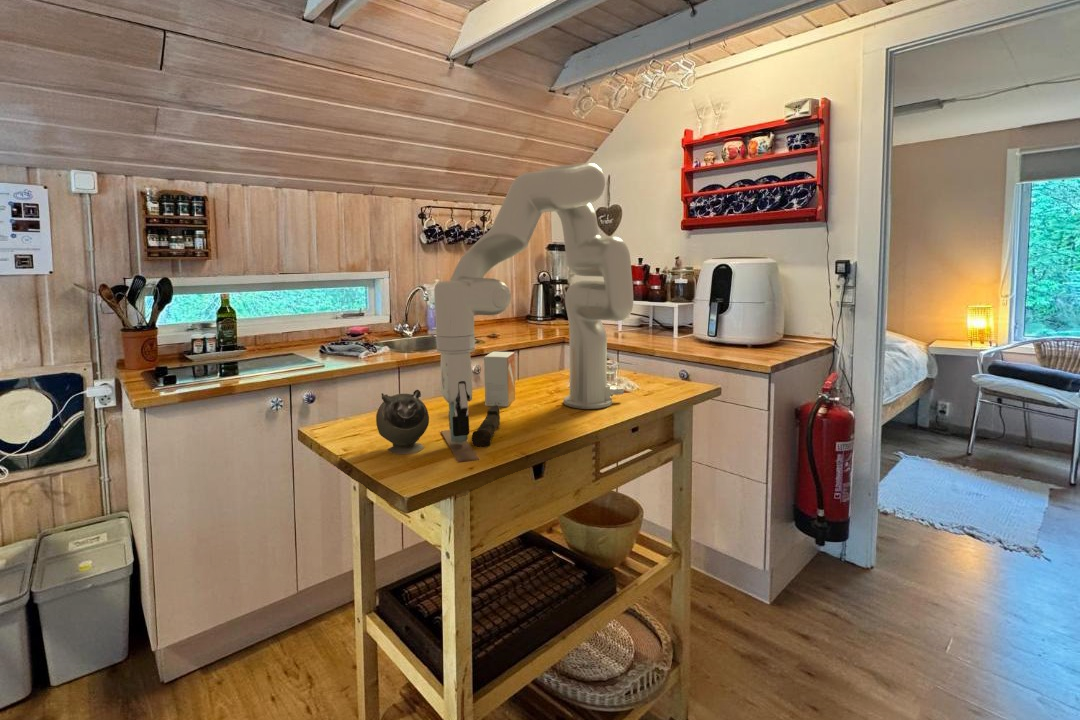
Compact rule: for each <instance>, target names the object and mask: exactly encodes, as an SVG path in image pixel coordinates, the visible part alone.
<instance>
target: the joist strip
mask: <svg viewBox="0 0 1080 720" xmlns="http://www.w3.org/2000/svg"><path fill="white" fill-rule="evenodd" d="M440 433H441V434H442V437H443V438H444V440H445V442H446V443H447V445H448V447H449V448H450V450H451V453H453V455H454V457H455V459H456V461H457V462H458V463H462V462H470V461H471V462H472V461H479V460H480V458H479V456H478V455H477V453H476V451H475V450H474V449H473V447H472V446H471V444H470V443H469V441H468V440H466V441H464V442H452V441H451V432H450V429H447V430H441V431H440Z"/></svg>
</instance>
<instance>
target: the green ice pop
mask: <svg viewBox="0 0 1080 720" xmlns="http://www.w3.org/2000/svg"><path fill="white" fill-rule="evenodd" d="M456 401H460V399H459V398H458V399H456ZM458 406H460V405H457V408H458ZM449 415H450V428H449V430H450V432H451V441H452V442H464V441H466V440H467V441H468V437H469V435H464V436H454V435H453V418H452V417H454V409H453V402H452V403H451V404H449V403H448V416H449Z"/></svg>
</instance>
